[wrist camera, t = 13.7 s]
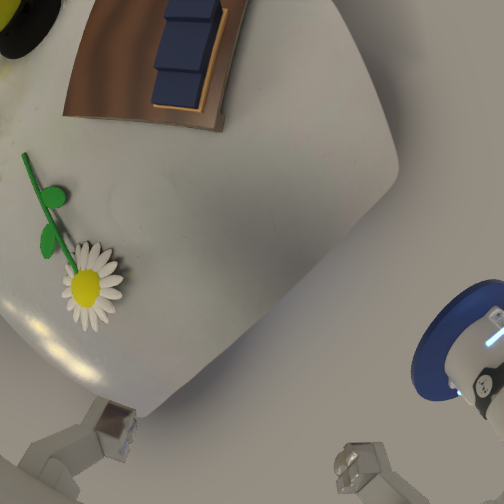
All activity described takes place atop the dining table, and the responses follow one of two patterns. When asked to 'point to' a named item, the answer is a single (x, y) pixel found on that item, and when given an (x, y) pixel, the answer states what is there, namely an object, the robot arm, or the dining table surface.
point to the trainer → (187, 53)
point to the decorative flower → (79, 265)
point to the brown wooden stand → (140, 65)
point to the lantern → (25, 24)
